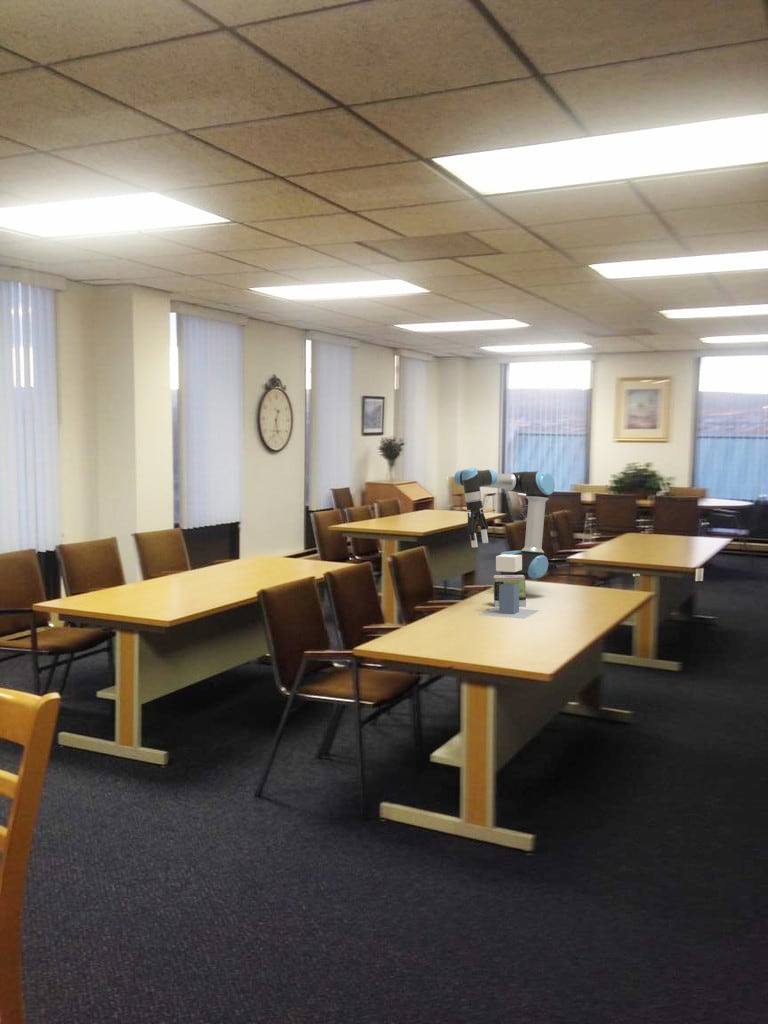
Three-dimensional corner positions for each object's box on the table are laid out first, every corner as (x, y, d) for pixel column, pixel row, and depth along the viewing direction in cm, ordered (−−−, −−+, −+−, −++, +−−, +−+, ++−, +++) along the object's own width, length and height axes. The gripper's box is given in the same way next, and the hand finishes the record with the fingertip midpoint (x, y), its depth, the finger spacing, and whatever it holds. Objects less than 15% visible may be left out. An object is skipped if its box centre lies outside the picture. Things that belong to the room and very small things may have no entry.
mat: (495, 608, 410) (495, 607, 410) (540, 611, 399) (540, 610, 399) (477, 615, 390) (477, 614, 390) (524, 619, 380) (524, 618, 380)
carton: (504, 610, 399) (504, 583, 399) (519, 611, 396) (519, 584, 395) (499, 613, 393) (499, 585, 392) (513, 614, 390) (513, 586, 389)
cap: (503, 568, 400) (503, 554, 399) (522, 569, 395) (522, 555, 395) (496, 571, 392) (495, 556, 391) (515, 572, 387) (515, 557, 387)
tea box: (524, 604, 419) (524, 574, 418) (525, 608, 409) (525, 577, 408) (493, 604, 420) (493, 574, 420) (494, 607, 410) (494, 577, 410)
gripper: (476, 499, 419) (482, 541, 420) (456, 504, 397) (462, 549, 398) (490, 497, 416) (496, 540, 417) (470, 502, 394) (477, 548, 395)
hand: (480, 545), depth 408 cm, fingers open, 13 cm apart
